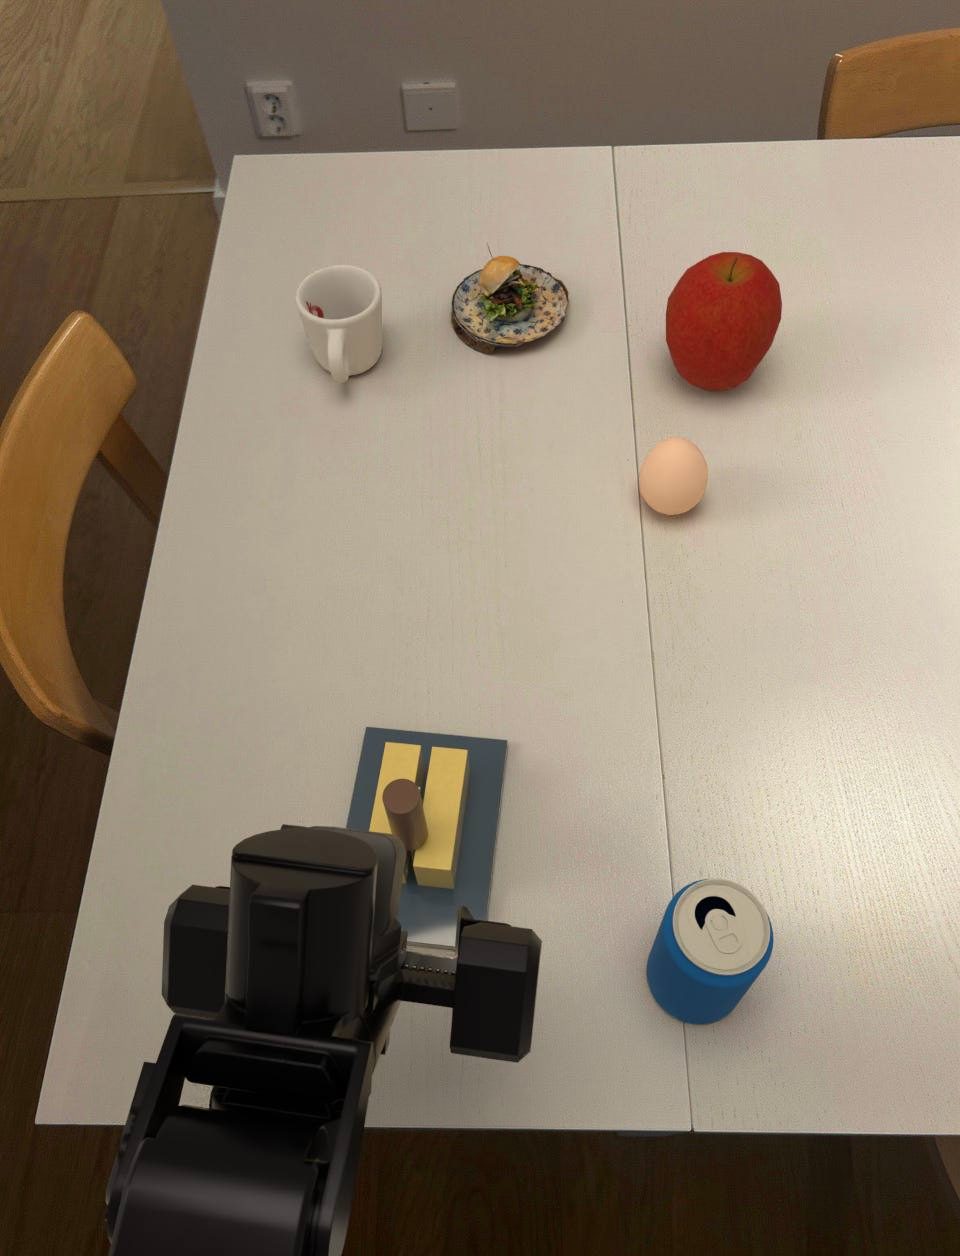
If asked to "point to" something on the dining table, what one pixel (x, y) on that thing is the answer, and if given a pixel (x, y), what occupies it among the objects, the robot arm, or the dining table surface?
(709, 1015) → the beverage can
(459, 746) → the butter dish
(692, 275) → the apple
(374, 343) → the cup
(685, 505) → the egg
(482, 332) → the burger
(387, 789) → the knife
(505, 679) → the dining table surface
